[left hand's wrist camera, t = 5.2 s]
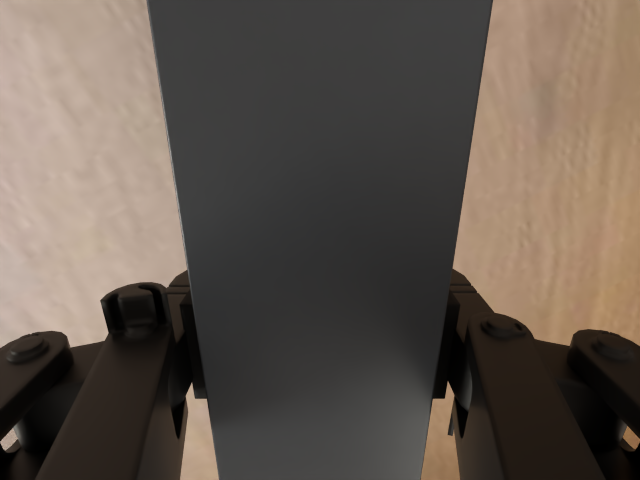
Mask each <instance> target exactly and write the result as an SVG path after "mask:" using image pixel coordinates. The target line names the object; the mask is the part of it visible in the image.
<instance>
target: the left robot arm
mask: <svg viewBox="0 0 640 480" xmlns="http://www.w3.org/2000/svg"><path fill="white" fill-rule="evenodd" d="M100 301H101V305H102V309H103V313H104V316H105V320H106V324H107V328H108V332H109V334H108V336H107V338H106V340H105V341H102V342H98V343H93V344H87V345H82V346H77V347H72V348H70V345H69V342H68V338H67V336H66V335H64V334H63V333H62V332H56V331H46V332H36V333H32V334H31V335H30V334H28V335H25V336H22V337H20V338H19V339H17V340H14V341H12V342H10V343H8V344H6V345H5V346H3V347H2V348H0V441H1V440H2V439H3V438H4V437H5V436H6V435H7V433H8V432H9V431H10V430H11V429H12V428H14V431H15V433H16V435H17V438H18V439H17V440H16V442H15V443H14V444H13V445H12V446H11V447H10V448H8V449H7V450H6V451H5V450H3V448H2V446H1V444H0V480H180V474H181V466H182V458H183V449H184V441H185V433H186V425H187V417H188V407H187V401H186V394H187V392H188V389H189V387H190V385H191V383H192V384H193V390H194V395H195V399H207V396H206V389H205V383H204V376H203V369H202V363H201V356H200V350H199V343H198V336H197V330H196V323H195V317H194V310H193V303H192V297H191V290H190V284H189V277H188V270H186V271H185V272H183V273H181V274H180V275H178V276H176V277H175V278H174V280H173V281H172V282H171V283H170V285H169V287H167V288H166V287H164V286H163V285H161V284H158V283H153V282H143V283H136V284H130V285H126V286H123V287H121V288H118V289H115V290H114V291H112V292H110V293H108V294H106V295H105V296H104V297H103V298H102V299H101V300H100ZM447 382H449V384H450V386H451V388H452V390H453V393H454V395H455V396H454V401H453V407H452V413H451V418H450V424H449V430H448V435H451V436H453V431H454V432H455V440H456V448H457V457H458V465H459V473H460V480H640V443H639V445H638V447H637V448H636V450H635V449H633V448H632V447H631V446H630V445H629V444H628V443H627V442H626V441H625V440H624V439H623V435H624V432H625V430H626V428H627V426H628V427H629V428H630V429H631V430H632V431H633V432H634V433H635V434H636V435H637V436H638V437H639V438H640V346H638V345H637V344H635V343H634V342H632V341H630V340H628V339H626V338H623V337H621V336H620V335H618V334H615V333H612V332H610V333H609V332H608V331H603V330H591V329H587V330H579V331H578V332H576V333H575V334H573V337H572V341H571V344H570V346H566V345H561V344H556V343H551V342H545V341H540V340H536V339H534V337H533V335H532V333H531V332H530V330H529V329H528V328H527V327H526V326H525V325H524V324H522V323H521V322H519V321H518V320H516V319H514V318H511V317H509V316H506V315H502V314H498V313H494V311H493V310H492V309H491V308H490V307H489V305H488V304H487V303H486V302H485V300H484V299H483V298H482V297H481V296H480V294H479V293H477V291H476V290H475V288H474V287H473V286H471V283H470V282H469V281H468V280H467V279H466V277H465V276H464V275H462V274H461V273H459V272H457V271H456V270H454V269H452V274H451V281H450V288H449V294H448V301H447V307H446V314H445V321H444V327H443V334H442V341H441V347H440V354H439V360H438V367H437V374H436V380H435V387H434V393H433V399H445V394H446V388H447Z"/></svg>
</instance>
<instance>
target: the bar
mask: <svg viewBox="0 0 640 480" xmlns="http://www.w3.org/2000/svg"><path fill="white" fill-rule="evenodd" d="M492 3H493V0H147V7H148V13H149V20H150V26H151V33H152V40H153V46H154V53H155V59H156V66H157V73H158V79H159V86H160V92H161V99H162V106H163V112H164V119H165V125H166V132H167V139H168V145H169V152H170V158H171V165H172V172H173V178H174V185H175V191H176V198H177V205H178V211H179V218H180V224H181V231H182V237H183V244H184V251H185V257H186V264H187V270H188V277H189V284H190V290H191V297H192V303H193V310H194V317H195V323H196V330H197V336H198V343H199V350H200V356H201V363H202V369H203V376H204V383H205V389H206V396H207V402H208V409H209V416H210V422H211V429H212V435H213V442H214V449H215V455H216V462H217V468H218V475H219V480H420V479H421V473H422V466H423V459H424V453H425V446H426V440H427V433H428V426H429V420H430V413H431V407H432V400H433V393H434V387H435V380H436V374H437V367H438V360H439V354H440V347H441V341H442V334H443V327H444V321H445V314H446V307H447V301H448V294H449V288H450V281H451V274H452V268H453V261H454V255H455V248H456V241H457V235H458V228H459V222H460V215H461V208H462V202H463V195H464V188H465V182H466V175H467V169H468V162H469V155H470V149H471V142H472V136H473V129H474V122H475V116H476V109H477V103H478V96H479V89H480V83H481V76H482V69H483V63H484V56H485V50H486V43H487V36H488V30H489V23H490V17H491V10H492Z"/></svg>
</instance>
